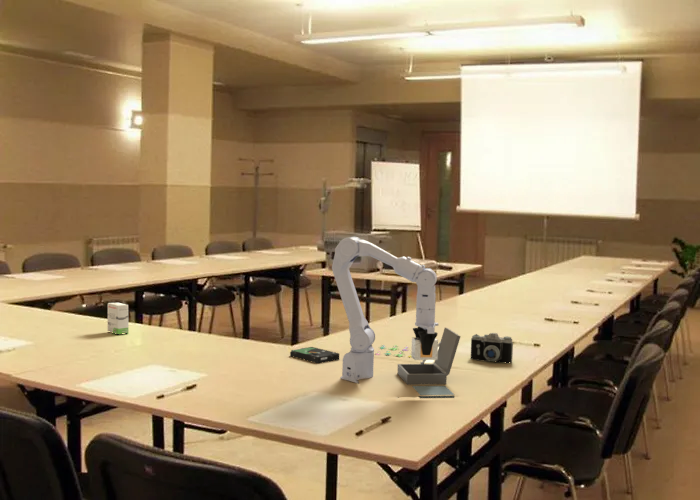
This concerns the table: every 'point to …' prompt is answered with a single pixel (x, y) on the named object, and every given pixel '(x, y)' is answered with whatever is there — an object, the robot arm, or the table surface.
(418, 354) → the module
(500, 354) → the camera
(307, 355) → the disk drive
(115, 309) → the ink box
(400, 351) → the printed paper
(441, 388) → the mat
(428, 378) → the case
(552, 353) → the table surface
